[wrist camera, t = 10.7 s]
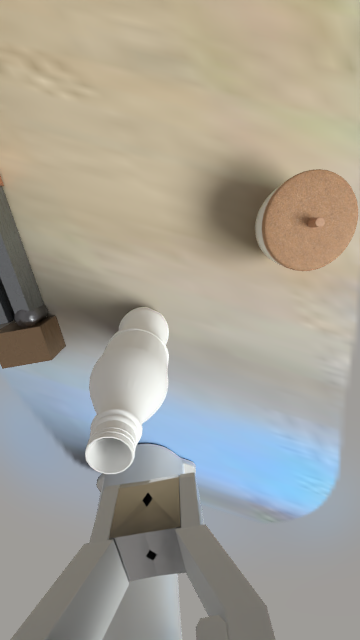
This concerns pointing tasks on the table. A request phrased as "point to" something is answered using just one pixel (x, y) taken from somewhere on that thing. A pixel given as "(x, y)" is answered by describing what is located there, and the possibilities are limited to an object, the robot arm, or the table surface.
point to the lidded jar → (307, 220)
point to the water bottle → (127, 389)
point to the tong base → (26, 338)
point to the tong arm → (18, 271)
